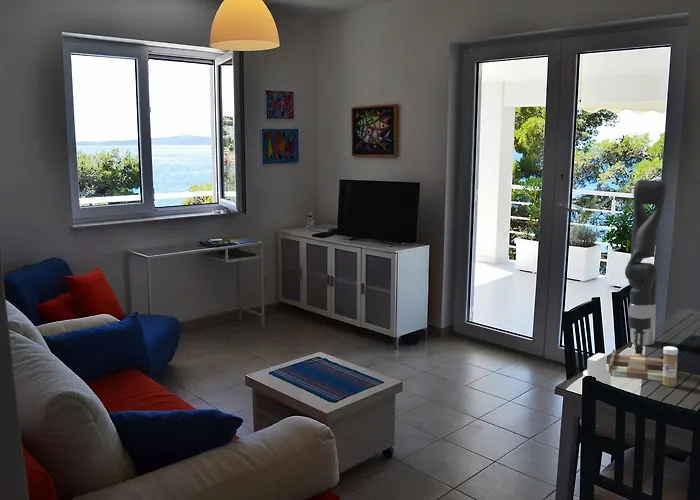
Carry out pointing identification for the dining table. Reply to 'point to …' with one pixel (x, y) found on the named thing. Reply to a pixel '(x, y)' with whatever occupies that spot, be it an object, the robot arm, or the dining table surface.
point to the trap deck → (622, 368)
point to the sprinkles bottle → (670, 366)
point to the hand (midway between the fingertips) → (638, 359)
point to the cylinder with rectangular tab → (598, 368)
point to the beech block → (637, 361)
